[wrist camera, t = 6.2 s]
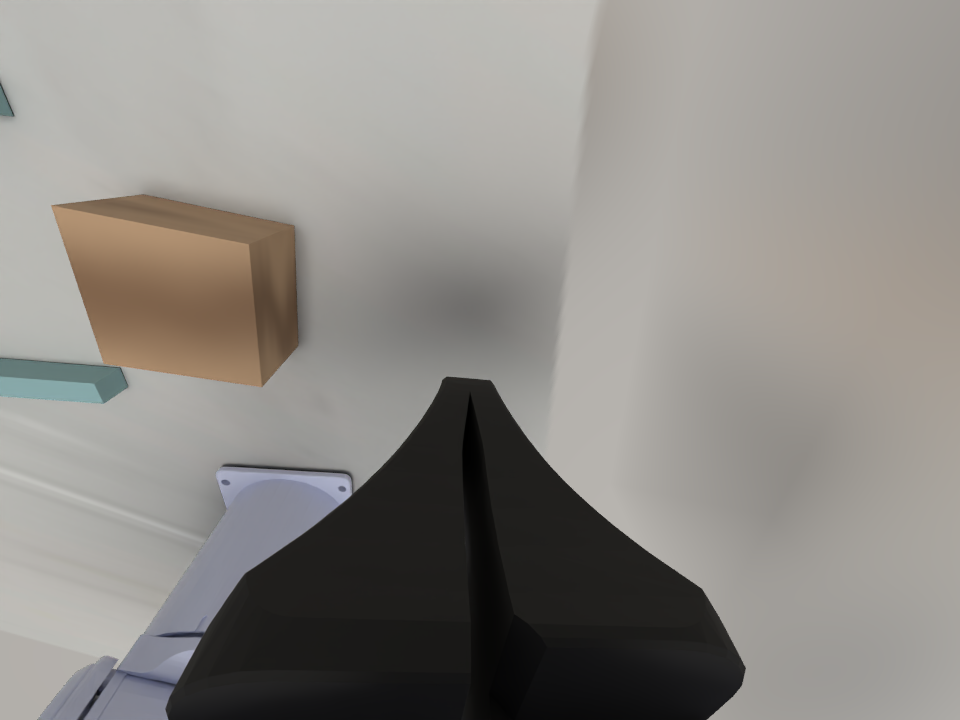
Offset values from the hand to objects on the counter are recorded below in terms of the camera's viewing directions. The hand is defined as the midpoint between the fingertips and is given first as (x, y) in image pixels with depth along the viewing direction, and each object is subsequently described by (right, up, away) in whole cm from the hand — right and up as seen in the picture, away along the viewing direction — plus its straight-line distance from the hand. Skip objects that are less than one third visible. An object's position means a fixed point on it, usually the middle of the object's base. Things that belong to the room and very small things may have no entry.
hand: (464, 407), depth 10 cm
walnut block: (-11, +5, +7) cm, 14 cm away
